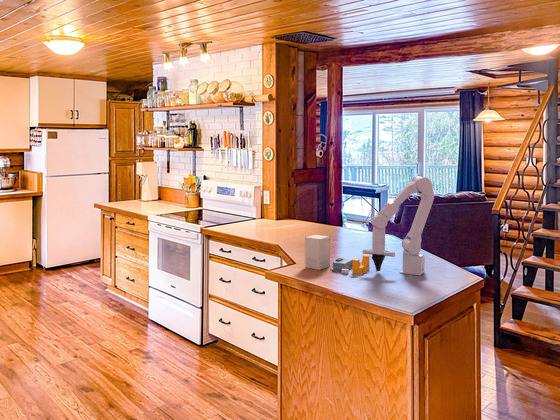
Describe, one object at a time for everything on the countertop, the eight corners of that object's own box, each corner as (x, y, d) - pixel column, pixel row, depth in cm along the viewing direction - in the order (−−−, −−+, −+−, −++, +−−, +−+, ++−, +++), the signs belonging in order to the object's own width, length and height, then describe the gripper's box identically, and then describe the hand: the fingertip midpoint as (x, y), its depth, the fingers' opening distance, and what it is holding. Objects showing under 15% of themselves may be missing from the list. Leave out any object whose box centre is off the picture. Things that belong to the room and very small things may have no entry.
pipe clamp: (360, 274, 221) (360, 260, 220) (352, 273, 223) (352, 259, 223) (372, 269, 230) (372, 255, 229) (364, 267, 233) (364, 254, 232)
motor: (361, 266, 236) (361, 257, 235) (347, 274, 221) (347, 264, 221) (342, 263, 241) (342, 255, 240) (327, 271, 226) (327, 262, 226)
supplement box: (330, 266, 235) (330, 236, 233) (319, 270, 229) (319, 239, 227) (315, 263, 241) (315, 234, 240) (304, 267, 235) (304, 236, 233)
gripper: (396, 241, 221) (396, 270, 223) (366, 238, 228) (365, 267, 230) (392, 244, 215) (392, 274, 217) (361, 241, 222) (360, 270, 223)
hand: (378, 270), depth 223 cm, fingers closed
